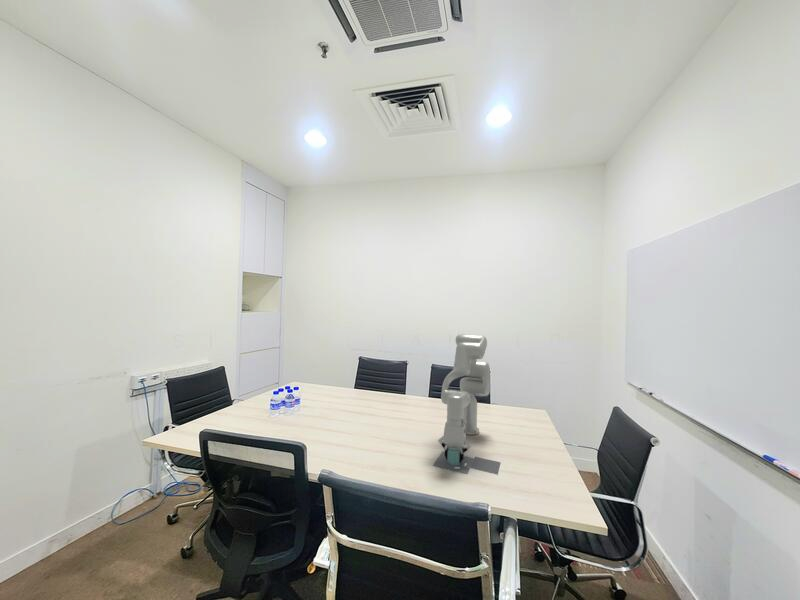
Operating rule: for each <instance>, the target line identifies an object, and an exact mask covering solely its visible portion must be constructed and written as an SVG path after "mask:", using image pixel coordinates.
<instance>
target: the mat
mask: <svg viewBox="0 0 800 600" xmlns="http://www.w3.org/2000/svg"><path fill="white" fill-rule="evenodd" d="M500 466H501V461H497V460H493V459H487V458H483V457H479V456H474V460H473V463H472V465H471V467H470V469H472V470H476V471H481V472H484V473H490V474H493V475H497V476H498V475H499V471H500V468H501V467H500Z"/></svg>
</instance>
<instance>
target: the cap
mask: <svg viewBox="0 0 800 600" xmlns="http://www.w3.org/2000/svg"><path fill="white" fill-rule="evenodd" d="M459 461H460V449H459V447H454V446H448V451H447V462H448V463H449V464H451V465H459V464H460V462H459Z"/></svg>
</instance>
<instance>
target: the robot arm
mask: <svg viewBox="0 0 800 600" xmlns="http://www.w3.org/2000/svg"><path fill="white" fill-rule="evenodd" d="M455 343H456V347H455V348H456V349H455V355H454V363H453V368H452V370H451V371H450V372H449V373H448V374H447V375H446V376H445V378H444V380H443V382H442V385H441V386H442V387H441V394H440V400H441V403H443V404H445V405H446V422H445V424H444V429H443V436H441V437H440V438H439V439H438V443H439V444H440V445H441V447H442V448H443V449H444V452H445V456H446V459H447V451H448V447H451V446H454V447H458V448H459V449H460V461H459V462H460V463H461V462H462V460H463V459H464V456H465V455H464V454H465V453H466V452H467V451H468V450H470V449H471V447H472V445H471V444H470V443H469V442H468V440H467V437H466V436H467V435H469V436H470V435H471V436H474V435H478V434H479V433H480V428H478V427H477V426H478V400H477V398H476V397H475V395H476V396H482V397H483V396H484V397H486V396H489V395H490V392H491V368H490V364H489V363H488V362H487V361H484V360H482V359H484V356H485V353H486V350H487V347H488V340H487V337H486V336H484V335H479V334H477V335H476V334H458V335H457V336H455ZM481 360H482V361H481ZM461 377H463V378H461ZM458 378H461V379H460V381H459V389H460V390H459V389H451V388H449V386H450V384H451V383H452V382H453V381H454V380H456V379H458Z"/></svg>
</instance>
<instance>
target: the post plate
mask: <svg viewBox="0 0 800 600" xmlns="http://www.w3.org/2000/svg"><path fill="white" fill-rule="evenodd" d="M474 458H475V457H474ZM474 458H473V457H469V456H465V455H464V459H463V460H462V462H461V463H460V464H459V465H451V464H449V463H448V462H447V459H446V456H445V450H444V451H441V452H440V454H439V455H438V457H437V458H436V460H435V461H434V462H433V464H432V467H437V468H440V469H444V470H447V471H451V472H456V473H459V474H463V475H468V474H469V472H470V470H471V468H470V467H471V465H472V463H473V460H474Z"/></svg>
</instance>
